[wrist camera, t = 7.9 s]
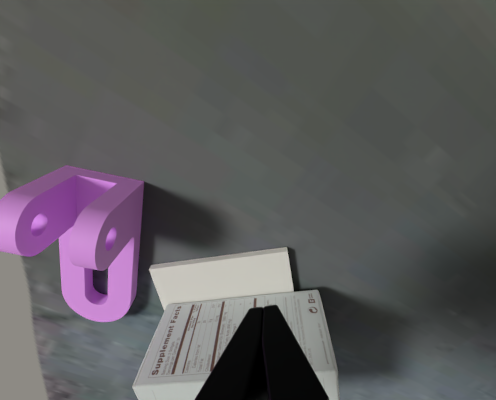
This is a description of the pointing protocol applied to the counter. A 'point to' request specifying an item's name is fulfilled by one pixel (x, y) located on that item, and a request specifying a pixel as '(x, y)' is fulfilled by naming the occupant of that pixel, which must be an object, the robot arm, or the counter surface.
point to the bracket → (80, 234)
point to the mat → (223, 277)
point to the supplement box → (217, 338)
